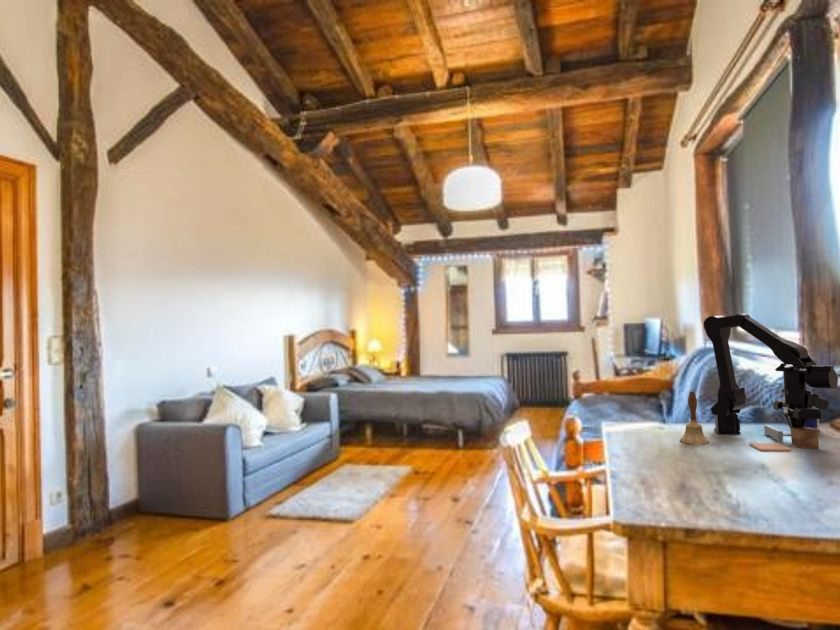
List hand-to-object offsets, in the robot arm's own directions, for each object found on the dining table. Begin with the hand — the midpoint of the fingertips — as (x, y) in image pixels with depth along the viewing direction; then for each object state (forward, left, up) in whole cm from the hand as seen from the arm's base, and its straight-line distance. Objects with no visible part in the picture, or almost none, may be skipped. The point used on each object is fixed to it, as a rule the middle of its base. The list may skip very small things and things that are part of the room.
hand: (797, 437), depth 166 cm
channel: (0, +7, -2) cm, 8 cm away
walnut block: (0, -5, -2) cm, 5 cm away
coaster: (-11, -8, -2) cm, 13 cm away
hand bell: (-29, 0, -2) cm, 29 cm away
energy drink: (+12, +20, -2) cm, 24 cm away
